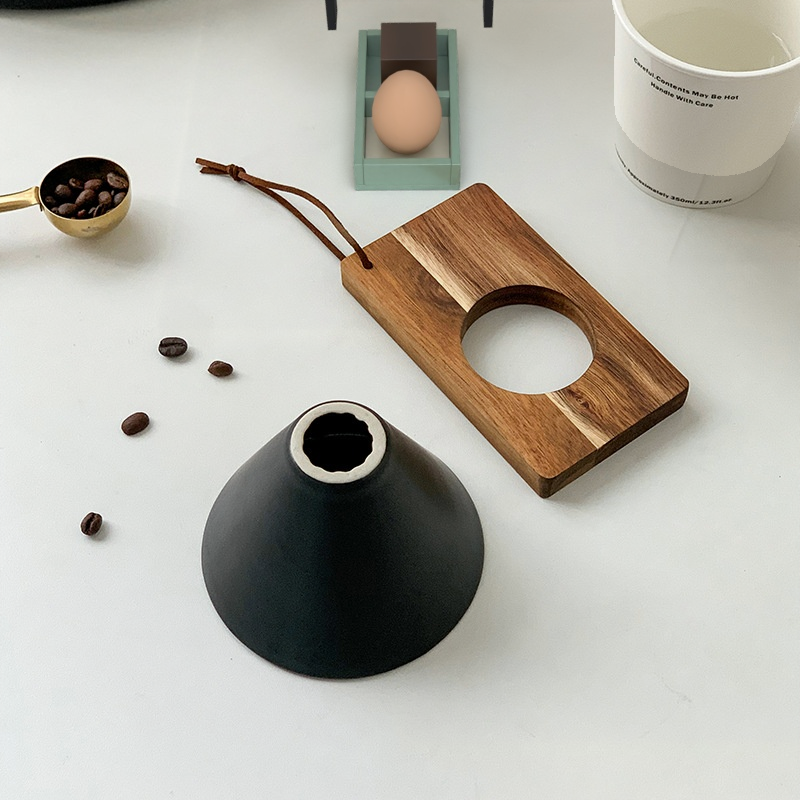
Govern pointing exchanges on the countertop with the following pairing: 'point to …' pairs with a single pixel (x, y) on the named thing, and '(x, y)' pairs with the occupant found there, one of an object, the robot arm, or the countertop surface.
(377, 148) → the sorting tray
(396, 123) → the egg
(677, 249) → the countertop surface
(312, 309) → the countertop surface
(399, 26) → the walnut block
